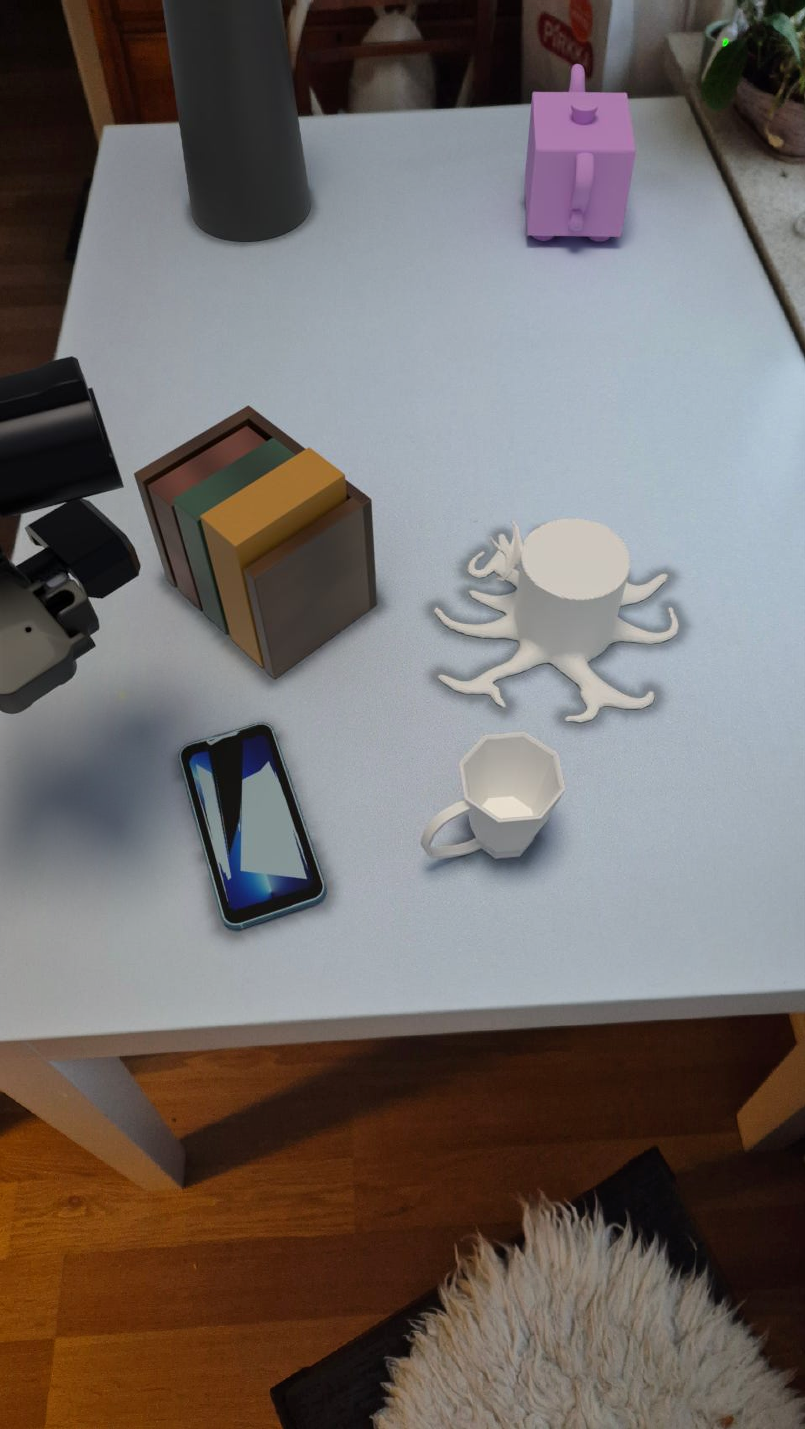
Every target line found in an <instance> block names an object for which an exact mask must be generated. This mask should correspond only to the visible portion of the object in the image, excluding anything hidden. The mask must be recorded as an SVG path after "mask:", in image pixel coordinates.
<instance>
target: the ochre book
mask: <svg viewBox="0 0 805 1429" xmlns="http://www.w3.org/2000/svg"><path fill="white" fill-rule="evenodd" d="M345 479H346V474H345V473H344V472H343V471H341V470H340V469H339V468H337V467H336V466H335V465H334V464H332V463H331V462H329V461H328V460H327V459H326V458H324V457H323V456H322V455H320V454H319V453H318V452H316V451H315V450H314V449H313V448H311V447H310V446H309V447H307V448H305V450H304V451H302V452H300V453H299V454H297V455H296V456H294V457H293V458H291V459H289V460H288V461H286V462H285V463H283V464H281V465H280V466H278V467H277V468H275V469H274V470H272V471H270V472H269V473H267V474H266V475H264V476H263V477H261V478H259V479H258V480H256V481H255V482H253V483H251V484H250V485H248V486H247V487H245V488H244V489H242V490H240V491H239V492H237V493H236V494H234V495H232V496H231V497H229V498H228V499H226V500H225V501H223V502H221V503H220V504H218V505H217V506H215V507H213V508H212V509H210V510H209V511H207V512H206V513H204V514H202V515H201V516H200V518H201V522H202V526H203V530H204V534H205V538H206V542H207V546H208V550H209V553H210V557H211V561H212V565H213V569H214V573H215V577H216V581H217V585H218V589H219V593H220V596H221V600H222V604H223V608H224V612H225V616H226V620H227V624H228V628H229V635H230V636H229V637H230V640H231V641H232V642H234V643H235V644H236V645H237V646H238V647H239V648H240V649H241V650H242V651H244V653H245V654H246V655H248V657H250V658H251V659H252V660H253V661H254V662H255V663H257V665H259V666H260V667H261V668H264V667H265V666H264V661H263V657H262V652H261V647H260V643H259V638H258V634H257V629H256V624H255V620H254V615H253V611H252V606H251V601H250V597H249V592H248V588H247V583H246V578H245V574H244V569H245V568H247V567H248V566H250V565H251V564H253V563H254V562H256V561H257V560H259V559H260V558H262V557H263V556H265V555H266V554H268V553H269V552H271V551H272V550H274V549H275V548H277V547H278V546H280V545H281V544H283V543H284V542H286V541H287V540H289V539H290V538H292V537H293V536H295V535H296V534H298V533H299V532H301V531H302V530H304V529H305V528H307V527H308V526H310V525H311V524H313V523H314V522H316V521H317V520H319V519H320V518H322V517H323V516H325V515H326V514H328V513H329V512H331V511H332V510H334V509H335V508H337V507H338V506H339V505H341V504H342V503H344V502H345V501H347V494H346V482H345Z"/></svg>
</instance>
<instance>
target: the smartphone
mask: <svg viewBox="0 0 805 1429" xmlns="http://www.w3.org/2000/svg"><path fill="white" fill-rule="evenodd" d="M177 758H178V762H179V766H180V769H181V774H182V776H183V781H184V784H185V787H186V794H187V797H188V801H189V804H190V809H191V812H192V816H193V819H194V822H195V824H196V829H197V832H198V836H199V839H200V840H199V841H200V843H201V847H202V850H203V854H204V858H205V862H206V865H207V870H208V873H209V876H210V880H211V884H212V887H213V891H214V896H215V899H216V903H217V906H218V910H219V914H220V917H221V921H222V922H223V924H224V925H225V926H226V927H227V928H229V929H231V930H242V929H245V928H248V927H251V926H254V925H257V924H260V923H263V922H267V921H269V920H273V919H275V918H279V917H281V916H284V915H287V914H291V913H293V912H296V911H299V910H302V909H305V908H309V907H311V906H315V905H318V904H319V903H320V902H321V901H323V899H324V898H325V896H326V894H327V886H326V882H325V878H324V876H323V872H322V869H321V866H320V864H319V860H318V856H317V855H316V852H315V849H314V845H313V843H312V840H311V837H310V834H309V831H308V827H307V824H306V821H305V818H304V816H303V813H302V810H301V806H300V804H299V800H298V798H297V795H296V794H297V793H296V792H295V789H294V785H293V783H292V778H291V775H290V772H289V768H288V765H287V763H286V762H285V759H284V755H283V753H282V749H281V747H280V743H279V741H278V737H277V735H276V732H275V729H274V727H273V726H272V725H271V724H269V723H267V722H256V723H252V724H248V725H246V726H242V727H239V728H235V729H233V730H229V731H224V732H222V733H218V734H215V735H212V736H208V737H205V738H201V739H198V740H195V741H192V742H188V743H187V744H184V745H183V746H182V747H181V748H180V749H179V752H178V757H177Z"/></svg>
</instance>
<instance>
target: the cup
mask: <svg viewBox="0 0 805 1429" xmlns="http://www.w3.org/2000/svg"><path fill="white" fill-rule="evenodd" d="M458 764H459V769H460V776H461V784H462V790H463V797H464V799H462V800H460V801H457V802H455V803H453V804H451V805H450V806H447V807H445V808H444V809H443V810H441V811H440V812H438V813H437V814H436V815H435V816H434V817H433V818H432V819H431V820H430V821H429V822H428V824H427V825H425V828H424V831H423V833H422V835H421V839H420V846H421V847H422V849H423V851H424V853H425V854H426V856H428V858H430V859H436V860H437V859H438V860H440V859H448V858H454V857H461V856H465V855H468V854H472V853H474V852H477V851H478V850H481V849H482V850H483V851H484V852H485V853H487V854H489V856H491V857H493V858H494V859H495V860H498V859H509V858H519V857H521V856H522V854H523V853H524V852H525V851H526V850H527V848H528V847H529V846H530V845H531V844H532V843H533V841H534V840H535V836H536V835H537V833H538V832H539V831H540V830H541V829H542V828H543V826H544V825H545V824H546V822H548V820H549V818H550V817H551V815H552V813H553V811H554V809H555V808H556V806H557V804H558V802H559V801H560V800H561V798H562V796H563V795H564V793H565V791H566V785H565V781H564V780H565V779H564V776H563V770H562V767H561V762H560V757H559V753H558V752H557V751H555V750H553V749H552V748H550V747H549V746H547V745H546V744H544V743H543V742H541V741H539V740H538V739H536V738H535V737H533V736H532V735H531V734H529V733H527V732H526V731H517V732H516V731H515V732H505V733H494V734H484V735H483V736H482V737H481V738H480V739H479V740H478V741H477V742H476V743H475V745H473V747H472V748H471V749H470V750H469V751H468V752H467V753H466V754H465V756H463V758H461V760H459V763H458ZM466 815H468V821H469V825H470V829H471V831H472V833H473V834H474V837H475V838H473V839H470V840H469V841H465V842H461V843H458V844H457V843H456V844H452V845H444V846H432V843H433V841H434V838H435V836H436V835H437V834H438V833H439V832H440V831H441V830H442V828H443V827H445V825H447V824H448V823H449V822H452V821H454V820H455V819H458V818H461V817H463V816H466Z"/></svg>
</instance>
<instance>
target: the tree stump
mask: <svg viewBox="0 0 805 1429" xmlns="http://www.w3.org/2000/svg"><path fill="white" fill-rule="evenodd" d="M510 522H511V523H512V527H513V528H512V531H513V532H512V533H513V534H512V539H511V542H509V540H508V539H507V536H506V535H505V533H499V534H498V536H497V538H498V540H497V541H495V540H494V539H493V537H492V536H489V538H490V542H492V544H493V546H494V547H495V548H496V549H497V552H495V554H494V555H493V556H492V557H491V559H490V560H489V561H488V563H487V564H486V565H485V566H484V567H483V568H482V569H476V568H475V566H476V564H477V563H478V559H480V558H482V557H483V556H484V555H485V554H486V553H485V551H483V550H482V551H481V552H479V553H478V554H476V555H475V556H474V557H472V559H471V560H470V561H469V563H468V566H467V572H468V573H469V575H471V576H472V577H475V578H478V579H481V578H487V576H489V575H490V574H492V573H493V572H495V573H496V574H497V575H499V577H496V578H495V579H496V580H497V581H501V582H503V581H507V582H509V583H511V584H512V585H513V586H514V587H515V588H516V590H515V591H513V592H511V593H508V594H501V595H492V594H488V593H484V592H480V591H478V590H473V589H471V590H469V591H468V594H469V595H470V596H471V598H473V599H474V600H476V601H478V602H479V603H480V604H483V605H486V606H489V607H491V609H492V608H493V609H494V610H498V611H501V612H504V614H505V615H504V616H502V617H501V618H498V619H496V620H495V621H491V622H488V623H481V624H473V623H471V624H469V623H462V622H458V621H456V620H452V619H451V618H449V617H448V616H447V615H445V614H444V612H443V611H442V610H441V609H440V608H438V607H436V606H435V608H434V610H433V612H434V614H435V615H436V616H437V617H438V618H439V619H440V621H441V622H442V623H443V625H444V626H447V628H449V629H450V630H454V631H455V632H458V633H462V634H464V635H466V636H472V637H479V638H481V639H486V638H487V639H510V640H513V641H517V642H518V643H519V644H518V645H519V647H518V649H517V651H516V653H515V654H514V655H513V657H511V659H509V661H506V662H505V663H502V664H500V665H497V666H495V667H492V668H490V669H489V670H487V671H485V672H483V673H481V675H479V676H477V677H475V678H473V679H471V680H466V681H465V680H464V681H463V680H458V679H456V678H453V677H452V676H449V675H444V674H439V675H438V676H437V678H438V679H439V681H441V682H442V683H444V684H445V685H446V686H448V687H449V688H451V689H452V690H453V691H456V692H459V693H462V694H466V695H482V694H483V695H484V694H485V695H490V698H492V700H493V701H494V702H495V703H496V704H497V705H499V706H500V707H501V708H502V709H505V708H507V705H506V702H505V701H504V699H503V697H501V692H500V688H499V687H498V686H496V684H494V682H496V681H498V680H500V679H504V678H506V677H510V676H513V675H517V674H520V673H522V672H525V671H529V670H530V669H532V668H534V667H536V666H538V665H542V664H551V665H553V666H554V667H555V668H556V669H558V671H560V672H561V673H562V674H564V675H565V676H566V677H567V678H569V679H570V680H572V681H573V683H575V684H577V686H578V687H579V690H580V692H579V694H580V698H581V699H582V701H583V703H584V704H585V706H586V710H585V711H584V712H582V713H580V714H577V715H568V716H565V718H564V720H565V721H566V722H576V723H584V722H585V723H586V722H588V721H592V720H593V719H595V718H596V716H597V715H598V713H599V711H600V709H602V707H614V708H619V709H623V710H627V709H628V710H635V709H643V708H644V709H645V708H646V707H648V706H650V705H651V704H653V702H654V700H655V693H654V691H653V690H651V691H647V692H648V693H646V695H645V696H643V697H633V696H630V695H627V694H624V693H622V692H620V691H619V690H617V689H616V688H614V687H613V686H611V685H610V684H608V683H607V682H605V681H604V680H603V679H601V677H599V676H598V675H597V674H596V673H595V672H594V671H593V670H592V668H590V666H589V662H590V661H592V660H593V659H596V658H597V657H598V656H600V655H601V654H602V653H604V652H605V651H606V649H607V648H608V647H609V646H610V645H611V644H613V643H617V642H630V643H631V642H632V643H638V644H648V645H652V644H653V645H654V644H657V643H658V644H661V643H663V642H665V641H668V640H670V639H672V638H673V637H675V636H676V635H677V633H678V630H679V627H680V625H679V621H678V618H677V616H676V613H675V611H674V607H671V606H670V607H668V609H667V610H668V612H669V617H670V620H671V625H670V627H669V629H668V630H666V631H662V632H651V631H648V630H645V629H642V628H639V627H637V626H635V625H632V624H631V623H628V622H626V621H624V619H622V618H621V617H620V616H619V612H620V609H621V607H622V606H627V605H632V604H637V603H639V602H641V601H643V600H646V599H647V598H649V597H650V596H652V595H653V594H654V593H655V592H656V591H657V590H658V589H659V588H660V587H661V585H663V584H664V583H665V582H667V578H668V577H669V575H668V574H667V573H661V574H659V575H657V576H656V577H654V578H653V579H651V580H650V581H649V582H647V583H644V584H638V585H635V584H632V583H630V582H628V577H629V574H630V569H631V555H630V552H629V550H628V547H627V545H626V543H625V542H624V541H623V539H622V538H620V535H618V534H617V533H616V532H614V531H613V530H612V529H611V528H610V527H608V526H606V525H605V524H602V523H600V522H597V521H593V520H587V519H586V518H578V517H574V518H572V517H570V518H567V517H566V518H560V519H559V518H558V519H556V520H555V519H553V520H552V521H548V522H546V523H544V524H540V526H539V527H537V528H535V529H533V530H532V531H531V532H530V533H529V534H528V535H527V536H526V538H525V540H524V542H523V538H522V536H521V532H520V530H519V527H518V524H517V523H516V521H515V519H513V520H511V521H510ZM516 568H519V569H518V570H517V569H516Z"/></svg>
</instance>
